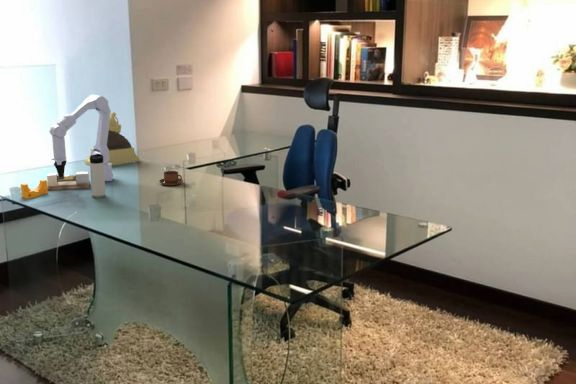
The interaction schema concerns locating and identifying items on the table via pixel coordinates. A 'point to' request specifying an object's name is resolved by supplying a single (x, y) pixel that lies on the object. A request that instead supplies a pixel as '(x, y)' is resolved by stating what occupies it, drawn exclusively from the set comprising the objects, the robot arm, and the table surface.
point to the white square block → (52, 179)
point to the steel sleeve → (82, 178)
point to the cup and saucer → (171, 178)
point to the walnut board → (67, 186)
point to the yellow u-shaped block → (34, 193)
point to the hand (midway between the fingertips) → (61, 175)
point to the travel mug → (97, 176)
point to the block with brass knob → (66, 178)
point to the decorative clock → (117, 145)
